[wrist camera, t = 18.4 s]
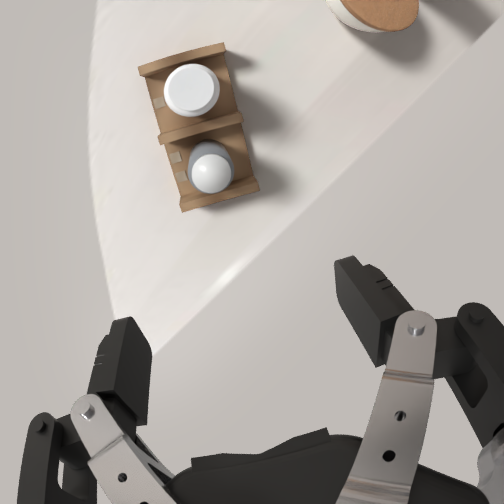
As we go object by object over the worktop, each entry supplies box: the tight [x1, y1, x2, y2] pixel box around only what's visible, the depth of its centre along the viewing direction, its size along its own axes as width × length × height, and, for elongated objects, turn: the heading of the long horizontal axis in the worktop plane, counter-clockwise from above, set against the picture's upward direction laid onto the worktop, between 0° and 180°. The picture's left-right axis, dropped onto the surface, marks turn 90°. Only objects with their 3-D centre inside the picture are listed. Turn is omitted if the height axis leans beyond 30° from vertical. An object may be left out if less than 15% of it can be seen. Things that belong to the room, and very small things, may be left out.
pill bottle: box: [164, 64, 220, 117], centre depth 26 cm, size 5×5×9 cm
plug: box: [188, 139, 234, 194], centre depth 31 cm, size 4×4×8 cm
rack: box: [138, 42, 260, 212], centre depth 31 cm, size 9×17×4 cm, turn 13°
